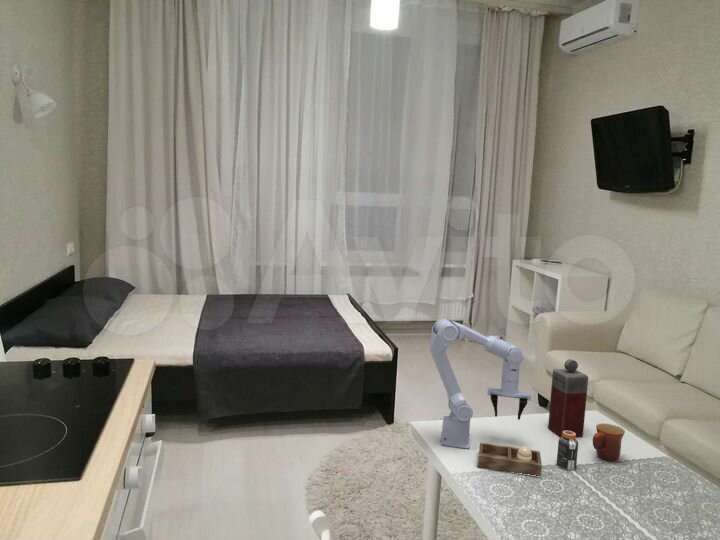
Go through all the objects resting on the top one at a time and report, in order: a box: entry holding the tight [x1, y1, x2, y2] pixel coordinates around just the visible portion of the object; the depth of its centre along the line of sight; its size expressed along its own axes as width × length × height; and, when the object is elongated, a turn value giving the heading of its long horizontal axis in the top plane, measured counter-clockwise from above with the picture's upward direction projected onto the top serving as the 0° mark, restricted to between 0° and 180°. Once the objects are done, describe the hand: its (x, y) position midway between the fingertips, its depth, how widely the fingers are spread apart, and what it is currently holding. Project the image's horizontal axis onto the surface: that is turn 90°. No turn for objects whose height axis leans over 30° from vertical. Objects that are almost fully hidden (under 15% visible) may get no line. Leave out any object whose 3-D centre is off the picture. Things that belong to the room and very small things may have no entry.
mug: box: [592, 422, 626, 463], centre depth 176 cm, size 12×9×10 cm
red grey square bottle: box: [547, 358, 589, 439], centre depth 196 cm, size 9×11×28 cm
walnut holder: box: [477, 442, 543, 477], centre depth 169 cm, size 19×10×4 cm, turn 75°
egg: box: [517, 446, 532, 462], centre depth 168 cm, size 4×4×6 cm
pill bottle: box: [556, 430, 579, 471], centre depth 170 cm, size 6×6×11 cm
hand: (507, 417), depth 185 cm, fingers open, 7 cm apart
